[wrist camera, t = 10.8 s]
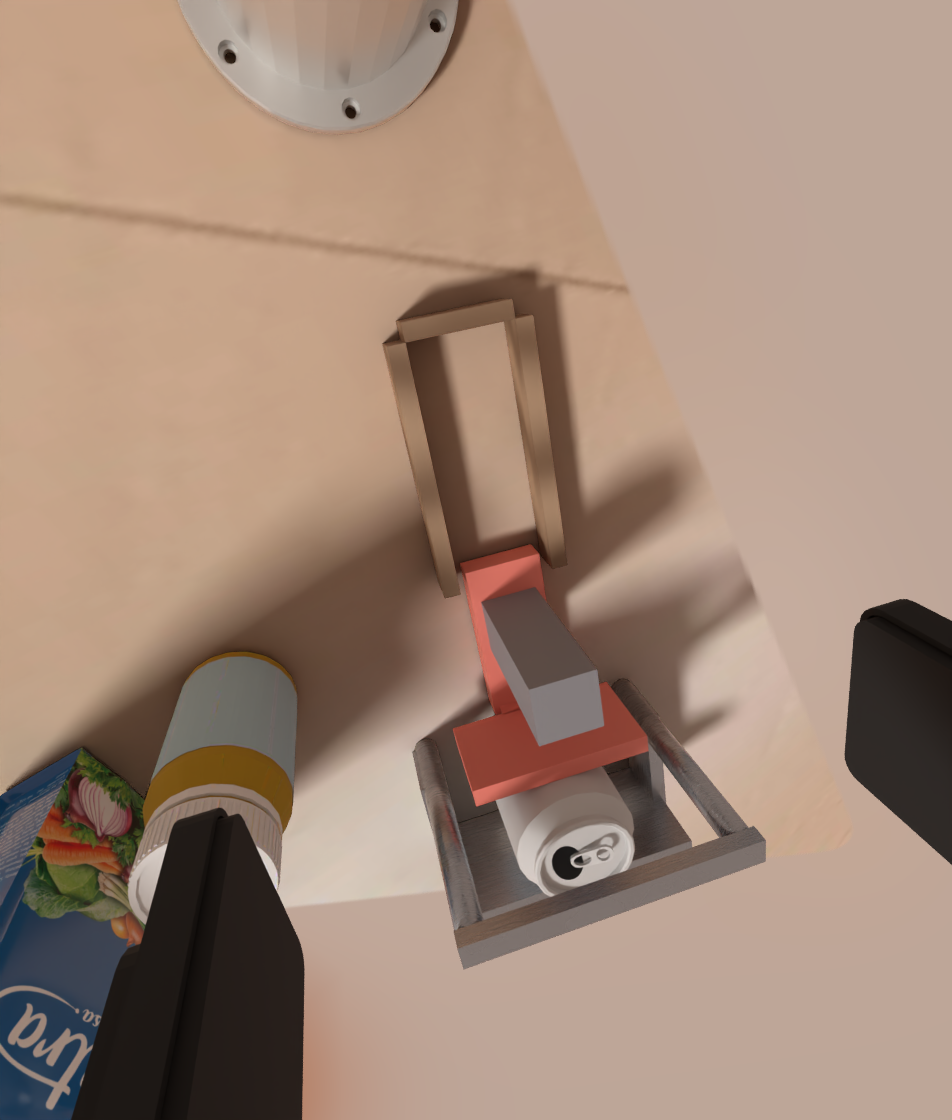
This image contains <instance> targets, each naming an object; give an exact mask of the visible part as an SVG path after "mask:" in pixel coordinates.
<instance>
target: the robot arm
mask: <svg viewBox="0 0 952 1120" xmlns="http://www.w3.org/2000/svg"><path fill="white" fill-rule="evenodd" d="M458 1H459V0H178V3H179V5H180V8H181V11H182V13H183V15H184V17H185V19H186V21H187V23H188V25H189V27H190V29H191V31H192V33H193V35H194V37H195V39H196V40H197V42H198V43H199V45H200V46H201V48H202V49H203V51H204V52H205V54H206V55H207V57H208V59H209V60H210V62H211V63H212V65H213V66H214V67H215V68H216V69H217V70H218V72H219V73H220V74H221V75H222V76H223V77H224V78H225V79H226V80H227V82H228V83H229V84H230V85H231V86H232V87H233V88H234V89H235V90H236V91H237V92H238V93H239V94H241V95H242V96H243V97H244V98H246V99H247V100H248V101H249V102H251V103H252V104H253V105H254V106H256V107H257V108H258V109H259V110H261V111H263V112H265V113H267V114H268V115H270V116H272V117H274V118H276V119H277V120H279V121H281V122H283V123H285V124H288V125H291V126H294V127H297V128H300V129H303V130H306V131H309V132H315V133H324V134H333V135H339V134H348V133H357V132H362V131H365V130H368V129H371V128H374V127H376V126H379V125H382V124H384V123H386V122H388V121H389V120H391V119H392V118H394V117H395V116H397V115H398V114H400V113H402V112H403V111H405V110H406V109H407V108H408V107H409V106H410V105H411V104H412V103H413V102H414V101H415V100H416V99H417V98H418V97H419V96H420V95H421V94H422V93H423V91H424V89H425V88H426V86H427V85H428V83H429V82H430V80H431V79H432V77H433V76H434V74H435V73H436V71H437V69H438V67H439V65H440V63H441V61H442V59H443V57H444V55H445V53H446V51H447V48H448V45H449V42H450V39H451V36H452V33H453V30H454V26H455V22H456V15H457V8H458ZM432 22H435V23H437V24H438V26H439V28H440V31H439V32H438V33H436V32H434V31H433V30H432V29H431V28H430V23H432ZM229 52H230V53H233V54H234V55H235V56H236V61H235V63H233V64H230V63H227V62H226V61H225V55H226V54H227V53H229ZM347 108H352V109H354V110H355V112H356V116H355V118H353V119H351V118H348V117H347V116H346V114H345V110H346V109H347ZM851 665H852V666H851V679H850V691H849V704H848V718H847V730H846V743H845V761H846V764H847V766H848V768H849V770H850V772H851V773H852V775H853V776H854V777H855V778H856V779H857V780H858V781H859V782H860V783H861V784H862V785H863V786H864V787H865V788H866V789H868V790H869V791H870V792H871V793H872V794H873V795H874V796H875V797H876V798H878V799H879V800H880V801H881V802H882V803H883V804H884V805H885V806H887V807H888V808H889V809H890V810H891V811H892V812H893V813H894V814H895V815H897V816H898V817H899V818H900V819H901V820H902V821H903V822H904V823H906V824H907V825H908V826H909V827H910V828H911V829H912V830H913V831H915V832H916V833H917V834H918V835H919V836H920V837H921V838H922V839H923V840H925V841H926V842H927V843H928V844H929V845H930V846H931V847H932V848H934V849H935V850H936V851H937V852H938V853H939V854H940V855H942V856H943V857H944V858H945V859H946V860H947V861H948V862H949V863H950V864H952V621H951V620H949V619H947V618H945V617H943V616H941V615H939V614H937V613H935V612H933V611H931V610H929V609H927V608H925V607H923V606H921V605H919V604H917V603H916V602H913V601H910V600H908V599H899V600H896V601H893V602H890V603H886V604H883V605H880V606H876V607H873V608H870V609H868V610H866V611H864V613H863V614H862V615H861V618H860V622H859V623H857V625H856V626H855V630H854V639H853V651H852V664H851ZM303 1020H304V959H303V953H302V948H301V944H300V942H299V939H298V937H297V935H296V932H295V931H294V928H293V926H292V924H291V921H290V919H289V917H288V915H287V913H286V911H285V908H284V906H283V904H282V902H281V900H280V897H279V895H278V893H277V891H276V889H275V887H274V884H273V882H272V880H271V878H270V876H269V873H268V871H267V869H266V867H265V865H264V863H263V860H262V858H261V856H260V854H259V852H258V850H257V847H256V845H255V843H254V841H253V839H252V836H251V834H250V832H249V830H248V828H247V826H246V823H245V821H244V819H243V818H242V816H241V815H240V814H234V815H231V816H228V814H227V813H226V811H225V810H224V809H223V808H215V809H212V810H209V811H206V812H202V813H199V814H196V815H192V816H189V817H186V818H183V819H179V820H177V821H176V822H175V823H174V825H173V827H172V829H171V833H170V837H169V840H168V844H167V848H166V851H165V855H164V859H163V863H162V866H161V870H160V874H159V877H158V881H157V885H156V888H155V892H154V896H153V899H152V903H151V907H150V911H149V914H148V918H147V922H146V925H145V929H144V933H143V936H142V940H141V943H140V944H137V945H135V946H132V947H130V948H128V949H127V950H126V951H125V953H124V954H123V955H122V956H121V958H120V960H119V963H118V965H117V968H116V970H115V973H114V977H113V980H112V983H111V987H110V990H109V993H108V997H107V1000H106V1003H105V1007H104V1010H103V1014H102V1017H101V1020H100V1024H99V1027H98V1030H97V1034H96V1037H95V1040H94V1044H93V1047H92V1051H91V1054H90V1057H89V1061H88V1064H87V1067H86V1071H85V1074H84V1078H83V1081H82V1084H81V1088H80V1091H79V1094H78V1098H77V1101H76V1104H75V1108H74V1111H73V1115H72V1118H71V1120H302V1086H303V1085H302V1084H303V1026H304V1021H303Z"/></svg>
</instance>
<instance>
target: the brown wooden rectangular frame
mask: <svg viewBox="0 0 952 1120" xmlns="http://www.w3.org/2000/svg"><path fill="white" fill-rule="evenodd" d="M503 321H504V324H505V331H506V337H507V344H508V350H509V356H510V363H511V369H512V376H513V382H514V389H515V395H516V401H517V408H518V414H519V421H520V427H521V434H522V440H523V446H524V453H525V459H526V466H527V472H528V479H529V485H530V491H531V498H532V504H533V511H534V517H535V524H536V530H537V536H538V543H539V549H540V555H541V556H542V558H543V559H544V560H545V561H546V562H547V563H548V564H549V566H550V567H551V568H552V569H555V568H558V567H562V566H566V565H567V558H566V551H565V543H564V536H563V529H562V521H561V514H560V507H559V500H558V492H557V485H556V478H555V470H554V463H553V456H552V448H551V441H550V434H549V427H548V419H547V412H546V405H545V397H544V390H543V383H542V375H541V368H540V361H539V354H538V346H537V339H536V332H535V324H534V317H533V315H528V314H517V315H515V313H514V306H513V299H497V300H492V301H487V302H483V303H478V304H473V305H468V306H464V307H459V308H454V309H450V310H445V311H440V312H435V313H431V314H426V315H421V316H417V317H412V318H407V319H402V320H398V321H396V324H397V328H398V333H399V337H400V340H397V341H392V342H388V343H383V348H384V353H385V357H386V361H387V365H388V370H389V374H390V378H391V383H392V387H393V391H394V395H395V400H396V404H397V408H398V412H399V417H400V421H401V425H402V429H403V434H404V438H405V442H406V447H407V451H408V455H409V459H410V464H411V468H412V472H413V476H414V481H415V485H416V489H417V494H418V498H419V502H420V506H421V511H422V515H423V519H424V523H425V528H426V532H427V536H428V540H429V545H430V549H431V553H432V558H433V562H434V566H435V570H436V575H437V579H438V583H439V585H440V588H441V590H442V592H443V595H444V597H445V599H446V598H449V597H453V596H457V595H460V594H461V593H460V588H459V584H458V579H457V574H456V570H455V565H454V561H453V556H452V552H451V547H450V543H449V538H448V534H447V529H446V524H445V520H444V515H443V511H442V506H441V502H440V497H439V493H438V488H437V483H436V479H435V474H434V470H433V465H432V461H431V456H430V452H429V447H428V442H427V438H426V433H425V429H424V424H423V420H422V415H421V411H420V406H419V401H418V397H417V392H416V388H415V383H414V379H413V374H412V370H411V365H410V360H409V356H408V351H407V347H406V342H411V341H416V340H420V339H425V338H429V337H434V336H439V335H443V334H448V333H453V332H457V331H462V330H466V329H471V328H476V327H480V326H485V325H489V324H494V323H499V322H503Z"/></svg>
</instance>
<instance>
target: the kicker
mask: <svg viewBox="0 0 952 1120" xmlns="http://www.w3.org/2000/svg"><path fill="white" fill-rule="evenodd" d="M460 566H461V571H462V575H463V580H464V585H465V589H466V594H467V599H468V603H469V608H470V613H471V617H472V622H473V626H474V631H475V636H476V640H477V645H478V650H479V654H480V659H481V664H482V668H483V673H484V678H485V682H486V687H487V692H488V696H489V701H490V703H491V705H492V708H493V710H494V712H495V716H492V717H489V718H486V719H482V720H479V721H476V722H472V723H469V724H466V725H462V726H459V727H456V728H453V732H454V736H455V740H456V743H457V746H458V750H459V753H460V756H461V759H462V762H463V765H464V769H465V772H466V775H467V778H468V781H469V785H470V788H471V791H472V794H473V797H474V800H475V804H476V807H477V806H480V805H483V804H486V803H489V802H492V801H495V800H498V799H502V798H505V797H508V796H511V795H514V794H517V793H520V792H523V791H526V790H529V789H533V788H536V787H539V786H542V785H545V784H548V783H551V782H554V781H557V780H560V779H564V778H567V777H570V776H573V775H576V774H579V773H582V772H585V771H588V770H591V769H595V768H598V767H601V766H604V765H607V764H610V763H613V762H616V761H619V760H622V759H626V758H629V757H632V756H635V755H638V754H641V753H644V752H647V751H649V750H648V739H647V735H646V734H645V732H644V731H643V730H642V728H641V727H640V726H639V724H638V723H637V722H636V720H635V719H634V718H633V716H632V715H631V714H630V712H629V711H628V710H627V708H626V707H625V706H624V704H623V703H622V702H621V700H620V699H619V698H618V696H617V695H616V694H615V692H614V691H613V690H612V688H611V687H610V686H609V684H608V683H607V682H604V683H601V684H599V679H598V671H597V668H596V667H595V666H594V664H593V663H592V662H591V660H590V659H589V658H588V656H587V655H586V654H585V652H584V651H583V650H582V648H581V647H580V646H579V644H578V643H577V642H576V640H575V639H574V638H573V637H572V635H571V634H570V633H569V631H568V630H567V629H566V627H565V626H564V625H563V623H562V622H561V621H560V619H559V618H558V617H557V615H556V614H555V613H554V611H553V610H552V609H551V607H550V606H549V605H548V603H547V601H546V595H545V588H544V582H543V575H542V569H541V563H540V556H539V553H538V552H537V551H536V550H535V548H534V547H533V546H532V545H531V544H530V545H526V546H522V547H518V548H515V549H511V550H507V551H503V552H500V553H496V554H492V555H489V556H485V557H481V558H477V559H474V560H470V561H466V562H462V563H460ZM497 714H499V715H497Z"/></svg>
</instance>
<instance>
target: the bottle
mask: <svg viewBox="0 0 952 1120" xmlns="http://www.w3.org/2000/svg"><path fill="white" fill-rule="evenodd" d="M296 726H297V690H296V686H295V684H294V681H293V679H292V677H291V675H290V674H289V673H288V672H287V671H286V670H285V669H284V668H283V666H281V665H280V664H279V663H277V662H276V661H274V660H272V659H270V658H268V657H266V656H264V655H260V654H256V653H251V652H229V653H224V654H221V655H218V656H215V657H212V658H210V659H208V660H206V661H205V662H203V663H202V664H200V665H199V666H197V667H196V668H195V669H194V670H193V672H192V673H191V674H190V675H189V676H188V678H187V679H186V681H185V683H184V686H183V687H182V690H181V693H180V696H179V699H178V702H177V705H176V708H175V711H174V714H173V717H172V720H171V723H170V726H169V728H168V731H167V734H166V737H165V740H164V743H163V746H162V749H161V752H160V755H159V758H158V761H157V764H156V767H155V770H154V773H153V776H152V779H151V781H150V784H149V788H148V791H147V794H146V797H145V802H144V805H143V819H144V826H145V830H144V833H143V839H142V840H141V842H140V845H139V848H138V851H137V854H136V858H135V861H134V864H133V867H132V870H131V873H130V876H129V882H128V898H129V903H130V906H131V908H132V910H133V912H134V913H135V915H136V916H137V917H138V918H139V919H140V920H141V921H142V922H143V923H144V924H145V925H146V922H147V918H148V914H149V911H150V907H151V903H152V899H153V896H154V892H155V888H156V885H157V881H158V877H159V874H160V870H161V866H162V863H163V859H164V855H165V851H166V848H167V844H168V840H169V837H170V833H171V829H172V827H173V825H174V823H175V822H176V821H177V820H179V819H183V818H186V817H189V816H192V815H196V814H199V813H202V812H206V811H209V810H212V809H215V808H223V809H224V810H225V811H226V813H227V814H228V816H231V815H234V814H240V815H241V816H242V818H243V819H244V821H245V823H246V826H247V828H248V830H249V832H250V834H251V836H252V839H253V841H254V843H255V845H256V847H257V850H258V852H259V854H260V856H261V858H262V860H263V863H264V865H265V867H266V869H267V871H268V873H269V876H270V878H271V880H272V882H273V884H274V887H275V889H276V891H277V890H278V885H279V883H280V870H281V854H282V834H283V833H284V831H285V829H286V827H287V825H288V822H289V820H290V817H291V814H292V806H293V794H294V771H295V748H296Z"/></svg>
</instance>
